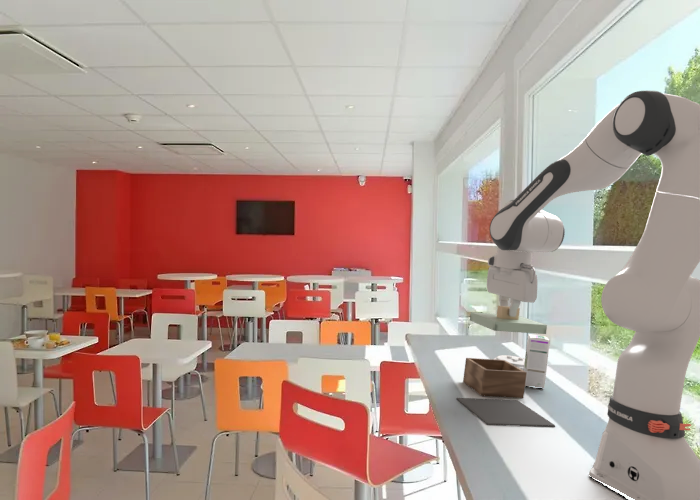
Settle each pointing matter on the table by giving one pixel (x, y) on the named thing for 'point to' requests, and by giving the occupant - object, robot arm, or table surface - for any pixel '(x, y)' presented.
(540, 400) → the table surface
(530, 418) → the black mat
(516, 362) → the lid
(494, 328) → the green lid
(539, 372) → the syrup box
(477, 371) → the walnut box
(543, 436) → the table surface
